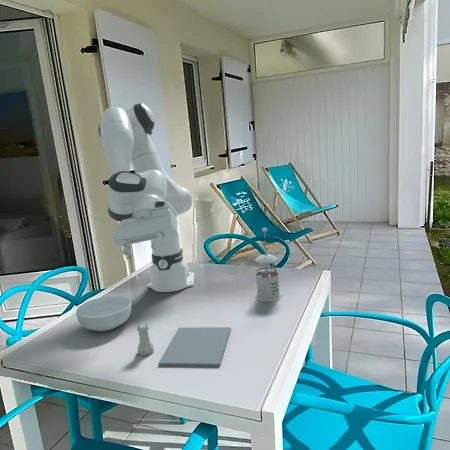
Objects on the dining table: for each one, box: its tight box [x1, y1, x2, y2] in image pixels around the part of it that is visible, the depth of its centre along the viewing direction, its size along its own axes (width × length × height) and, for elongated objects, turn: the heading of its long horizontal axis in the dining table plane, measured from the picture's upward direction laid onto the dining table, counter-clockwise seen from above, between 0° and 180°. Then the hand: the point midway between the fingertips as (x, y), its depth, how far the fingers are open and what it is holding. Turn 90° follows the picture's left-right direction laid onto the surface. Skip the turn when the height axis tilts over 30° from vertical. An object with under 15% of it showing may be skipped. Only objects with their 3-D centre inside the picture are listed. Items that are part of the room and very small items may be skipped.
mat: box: [158, 326, 232, 368], centre depth 113 cm, size 20×16×1 cm
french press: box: [254, 227, 283, 302], centre depth 143 cm, size 10×12×25 cm
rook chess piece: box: [136, 322, 155, 356], centre depth 112 cm, size 4×4×8 cm
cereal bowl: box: [75, 295, 132, 332], centre depth 130 cm, size 17×17×7 cm
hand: (140, 251), depth 115 cm, fingers open, 8 cm apart
